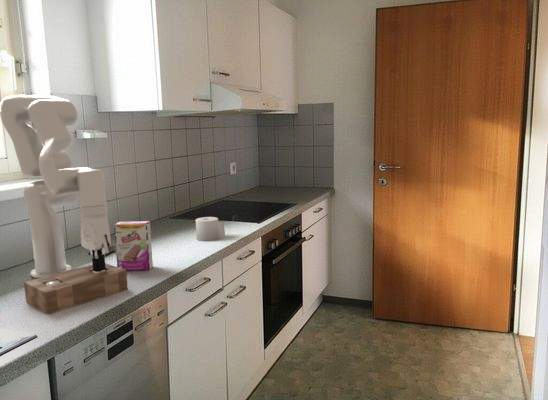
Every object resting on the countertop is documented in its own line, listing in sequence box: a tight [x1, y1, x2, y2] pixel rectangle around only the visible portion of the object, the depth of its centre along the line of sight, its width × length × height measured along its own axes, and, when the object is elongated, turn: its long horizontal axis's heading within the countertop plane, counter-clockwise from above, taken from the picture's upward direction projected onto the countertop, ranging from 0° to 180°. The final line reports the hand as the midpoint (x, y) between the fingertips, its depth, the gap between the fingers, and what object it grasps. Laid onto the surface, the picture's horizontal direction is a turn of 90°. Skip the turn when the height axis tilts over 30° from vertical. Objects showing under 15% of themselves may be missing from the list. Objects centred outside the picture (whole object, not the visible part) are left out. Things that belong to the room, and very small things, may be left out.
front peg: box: [46, 280, 60, 286], centre depth 136 cm, size 4×4×6 cm
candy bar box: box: [113, 220, 154, 272], centre depth 165 cm, size 11×5×16 cm, turn 92°
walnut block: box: [23, 262, 128, 315], centre depth 141 cm, size 14×24×6 cm, turn 139°
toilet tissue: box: [195, 216, 226, 242], centre depth 207 cm, size 9×13×9 cm
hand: (99, 270), depth 146 cm, fingers closed
